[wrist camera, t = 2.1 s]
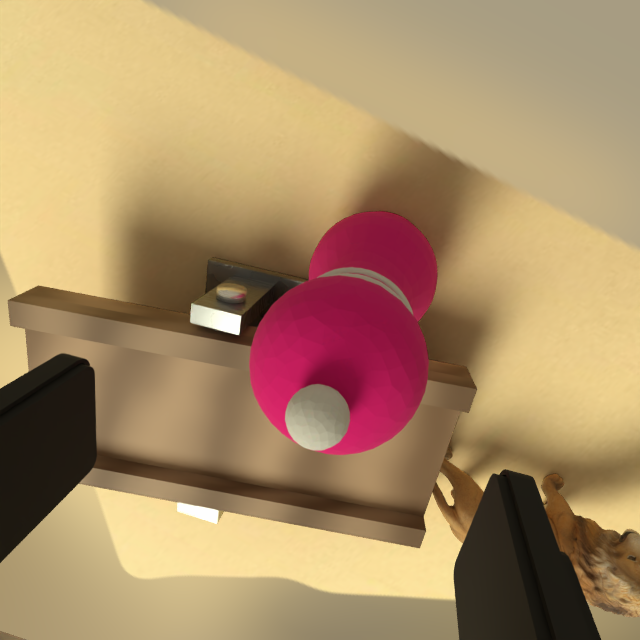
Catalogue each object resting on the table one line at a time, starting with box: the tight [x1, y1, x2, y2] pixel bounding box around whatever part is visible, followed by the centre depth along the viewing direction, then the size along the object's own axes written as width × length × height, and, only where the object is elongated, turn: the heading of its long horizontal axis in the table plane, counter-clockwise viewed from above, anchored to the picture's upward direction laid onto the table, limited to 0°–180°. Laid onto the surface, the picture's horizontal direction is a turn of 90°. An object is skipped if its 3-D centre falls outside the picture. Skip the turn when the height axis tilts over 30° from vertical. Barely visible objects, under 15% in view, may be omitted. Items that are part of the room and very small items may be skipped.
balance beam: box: [8, 286, 477, 548], centre depth 29 cm, size 27×13×3 cm, turn 80°
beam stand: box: [177, 257, 307, 524], centre depth 32 cm, size 7×17×7 cm, turn 170°
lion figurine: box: [432, 447, 640, 617], centre depth 30 cm, size 15×5×9 cm, turn 88°
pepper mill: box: [249, 211, 437, 455], centre depth 21 cm, size 7×7×20 cm
